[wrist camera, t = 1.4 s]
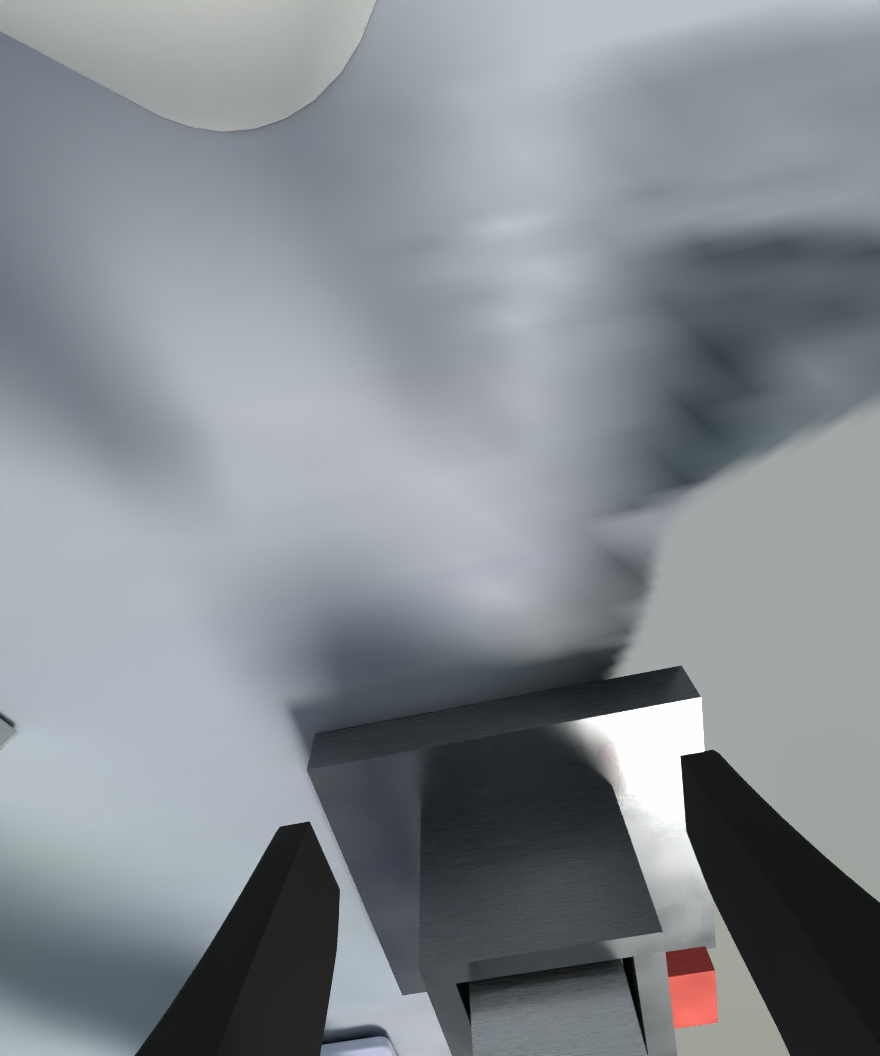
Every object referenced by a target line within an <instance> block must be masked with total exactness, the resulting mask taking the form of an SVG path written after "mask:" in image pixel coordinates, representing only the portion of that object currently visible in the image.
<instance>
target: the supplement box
mask: <svg viewBox="0 0 880 1056" xmlns="http://www.w3.org/2000/svg"><path fill="white" fill-rule="evenodd" d="M16 735H17V731H16V730H15V729H14V728H12V727H11V726H10V725H8V724H7V723H6V722H4V721H3V720H2V719H0V753H1V752H2V750H3V749H4V748H5V747H6V746H7V745H8V744H9V743H10V742H11V741H12V740H13V739H14V738H15V737H16Z"/></svg>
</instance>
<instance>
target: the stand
mask: <svg viewBox="0 0 880 1056" xmlns="http://www.w3.org/2000/svg"><path fill="white" fill-rule="evenodd" d="M703 751H704V738H703V721H702V705H701V696H700V695H699V693H698V692H697V690H696V688H695V687H694V685H693V683H692V682H691V680H690V679H689V677H688V675H687V674H686V672H685V671H684V669H683V667H682V666H677V667H672V668H667V669H661V670H656V671H650V672H645V673H640V674H635V675H629V676H624V677H619V678H613V679H608V680H603V681H597V682H592V683H587V684H581V685H576V686H571V687H565V688H560V689H555V690H549V691H544V692H539V693H533V694H528V695H523V696H518V697H512V698H507V699H502V700H496V701H491V702H486V703H480V704H475V705H470V706H464V707H459V708H454V709H448V710H443V711H438V712H432V713H427V714H422V715H417V716H411V717H406V718H401V719H395V720H390V721H385V722H379V723H374V724H369V725H363V726H358V727H353V728H347V729H342V730H337V731H331V732H326V733H321V734H316V735H315V738H314V743H313V747H312V751H311V755H310V759H309V763H308V767H307V771H308V773H309V776H310V778H311V781H312V783H313V785H314V788H315V790H316V792H317V795H318V797H319V799H320V802H321V804H322V807H323V809H324V811H325V814H326V816H327V818H328V821H329V823H330V825H331V828H332V830H333V832H334V835H335V837H336V840H337V842H338V844H339V847H340V849H341V851H342V854H343V856H344V858H345V861H346V863H347V865H348V868H349V870H350V873H351V875H352V877H353V880H354V882H355V884H356V887H357V889H358V891H359V894H360V896H361V899H362V901H363V903H364V906H365V908H366V910H367V913H368V915H369V917H370V920H371V922H372V924H373V927H374V929H375V932H376V934H377V936H378V939H379V941H380V943H381V946H382V948H383V950H384V953H385V955H386V958H387V960H388V962H389V965H390V967H391V969H392V972H393V974H394V976H395V979H396V981H397V983H398V986H399V988H400V991H401V993H402V995H408V994H415V993H421V992H427V993H428V995H429V998H430V1001H431V1003H432V1006H433V1008H434V1011H435V1013H436V1016H437V1018H438V1021H439V1023H440V1026H441V1029H442V1031H443V1034H444V1036H445V1039H446V1041H447V1044H448V1046H449V1049H450V1051H451V1054H452V1056H473V1046H472V1028H471V1009H470V991H469V981H476V980H482V979H489V978H495V977H502V976H508V975H515V974H522V973H528V972H535V971H541V970H548V969H554V968H561V967H567V966H574V965H581V964H587V963H594V962H600V961H607V960H613V959H620V958H622V963H623V968H624V972H625V975H626V979H627V982H628V986H629V990H630V993H631V997H632V1001H633V1004H634V1008H635V1012H636V1015H637V1019H638V1023H639V1026H640V1030H641V1034H642V1037H643V1041H644V1045H645V1048H646V1052H647V1056H677V1050H676V1042H675V1033H674V1029H675V1028H682V1027H689V1026H695V1025H703V1024H710V1023H717V1022H718V1013H717V998H716V980H715V969H714V967H713V964H712V962H711V959H710V957H709V954H708V952H707V949H711V948H716V945H715V927H714V910H713V898H712V896H711V894H710V892H709V889H708V887H707V884H706V882H705V879H704V877H703V874H702V872H701V869H700V867H699V864H698V861H697V859H696V856H695V853H694V851H693V848H692V845H691V843H690V840H689V837H688V835H687V832H686V823H685V810H684V798H683V786H682V774H681V762H680V756H681V755H686V754H692V753H698V752H703Z"/></svg>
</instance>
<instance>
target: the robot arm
mask: <svg viewBox="0 0 880 1056" xmlns="http://www.w3.org/2000/svg"><path fill="white" fill-rule="evenodd" d="M680 762H681V774H682V786H683V798H684V810H685V823H686V832H687V835H688V837H689V840H690V843H691V845H692V848H693V851H694V853H695V856H696V859H697V861H698V864H699V867H700V869H701V872H702V874H703V877H704V879H705V882H706V884H707V887H708V889H709V892H710V894H711V896H712V898H713V900H714V902H715V904H716V906H717V908H718V910H719V912H720V914H721V916H722V918H723V920H724V922H725V924H726V926H727V928H728V930H729V932H730V934H731V936H732V938H733V940H734V942H735V944H736V946H737V948H738V950H739V952H740V954H741V956H742V958H743V960H744V962H745V964H746V966H747V968H748V970H749V972H750V974H751V976H752V978H753V980H754V982H755V984H756V986H757V988H758V990H759V992H760V994H761V996H762V998H763V1000H764V1002H765V1004H766V1006H767V1008H768V1010H769V1012H770V1014H771V1016H772V1018H773V1020H774V1022H775V1024H776V1026H777V1028H778V1030H779V1032H780V1034H781V1036H782V1039H783V1041H784V1043H785V1045H786V1047H787V1049H788V1051H789V1054H790V1056H880V902H878V901H877V900H876V899H875V898H873V897H872V896H871V895H870V894H869V893H867V892H866V891H865V890H864V889H862V888H861V887H860V886H859V885H858V884H856V883H855V882H854V881H853V880H852V879H851V878H849V877H848V876H847V875H846V874H845V873H843V872H842V871H841V870H840V869H839V868H838V867H837V866H835V865H834V864H833V863H832V862H831V861H830V860H828V859H827V858H826V857H825V856H824V855H823V854H822V853H820V852H819V851H818V850H817V849H816V848H815V847H814V846H813V845H812V844H810V842H808V841H807V840H806V839H805V838H804V837H803V836H802V835H801V834H800V833H799V832H797V831H796V830H795V829H794V828H793V827H792V826H791V825H790V824H789V823H788V822H787V821H785V820H784V819H783V818H782V817H781V816H780V815H779V814H778V813H777V812H776V811H775V810H774V809H773V808H772V807H771V806H770V805H769V804H768V803H767V802H766V801H765V800H764V799H763V798H762V797H761V796H760V795H758V793H757V792H756V791H755V790H754V789H753V788H752V787H751V786H750V785H749V784H747V782H746V781H744V779H743V778H742V777H741V776H740V775H739V774H738V773H737V772H736V771H735V770H734V769H733V768H732V767H731V766H730V765H729V764H728V762H727V761H726V760H725V759H724V758H723V757H722V756H721V755H720V754H719V753H718V752H716V751H714V750H709V751H703V752H698V753H692V754H686V755H681V756H680ZM339 898H340V889H339V887H338V884H337V882H336V880H335V878H334V875H333V873H332V871H331V869H330V866H329V864H328V862H327V860H326V857H325V855H324V853H323V851H322V848H321V846H320V844H319V842H318V839H317V837H316V835H315V833H314V830H313V828H312V826H311V824H310V822H304V823H299V824H293V825H287V826H282V827H280V828H279V829H278V830H277V832H276V833H275V835H274V837H273V839H272V840H271V842H270V844H269V846H268V847H267V849H266V851H265V853H264V854H263V856H262V858H261V860H260V861H259V863H258V865H257V867H256V868H255V870H254V872H253V874H252V875H251V877H250V879H249V881H248V882H247V884H246V886H245V887H244V889H243V891H242V893H241V894H240V896H239V898H238V899H237V901H236V903H235V905H234V906H233V908H232V910H231V911H230V913H229V914H228V916H227V918H226V919H225V921H224V923H223V924H222V926H221V928H220V929H219V931H218V933H217V934H216V936H215V938H214V939H213V941H212V943H211V944H210V946H209V947H208V949H207V951H206V952H205V954H204V955H203V957H202V958H201V960H200V961H199V963H198V964H197V966H196V968H195V969H194V971H193V972H192V974H191V975H190V977H189V978H188V980H187V981H186V983H185V984H184V986H183V987H182V989H181V990H180V992H179V993H178V995H177V996H176V998H175V1000H174V1001H173V1002H172V1004H171V1005H170V1007H169V1008H168V1010H167V1011H166V1013H165V1014H164V1015H163V1017H162V1018H161V1020H160V1021H159V1023H158V1024H157V1026H156V1027H155V1028H154V1030H153V1031H152V1032H151V1034H150V1035H149V1037H148V1038H147V1039H146V1041H145V1042H144V1044H143V1045H142V1046H141V1048H140V1049H139V1050H138V1052H137V1053H136V1054H135V1056H397V1055H396V1053H395V1051H394V1049H393V1047H392V1044H391V1042H390V1041H389V1040H388V1039H387V1038H385V1037H381V1036H380V1037H371V1038H364V1039H357V1040H350V1041H344V1042H337V1043H330V1044H323V1045H322V1041H323V1035H324V1028H325V1022H326V1016H327V1010H328V1004H329V997H330V991H331V984H332V978H333V971H334V965H335V958H336V951H337V938H338V922H339Z"/></svg>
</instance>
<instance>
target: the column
mask: <svg viewBox="0 0 880 1056" xmlns="http://www.w3.org/2000/svg"><path fill="white" fill-rule="evenodd" d="M469 991H470V1009H471V1028H472V1046H473V1056H647V1052H646V1048H645V1045H644V1041H643V1037H642V1034H641V1030H640V1026H639V1023H638V1019H637V1015H636V1012H635V1008H634V1004H633V1001H632V997H631V993H630V990H629V986H628V982H627V979H626V975H625V972H624V968H623V963H622V958H620V959H613V960H607V961H600V962H594V963H587V964H581V965H574V966H567V967H561V968H554V969H548V970H541V971H535V972H528V973H522V974H515V975H508V976H502V977H495V978H489V979H482V980H476V981H469Z"/></svg>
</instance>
